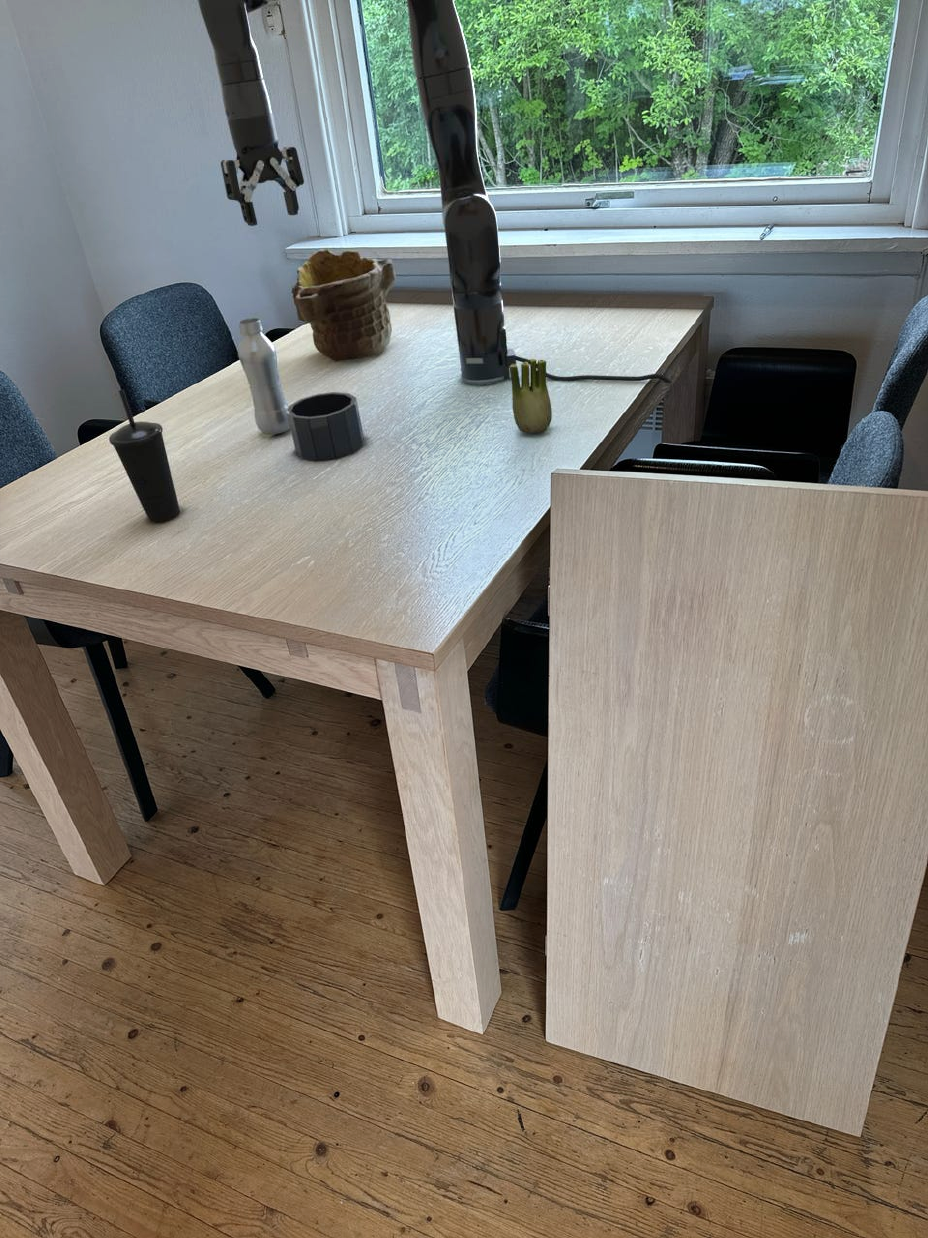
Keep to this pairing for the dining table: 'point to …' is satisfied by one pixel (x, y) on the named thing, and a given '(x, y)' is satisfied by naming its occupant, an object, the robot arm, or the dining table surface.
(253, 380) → the silver water bottle
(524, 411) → the fennel bulb
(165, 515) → the drinking cup
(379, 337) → the ceramic vessel
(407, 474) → the dining table surface
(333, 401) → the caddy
